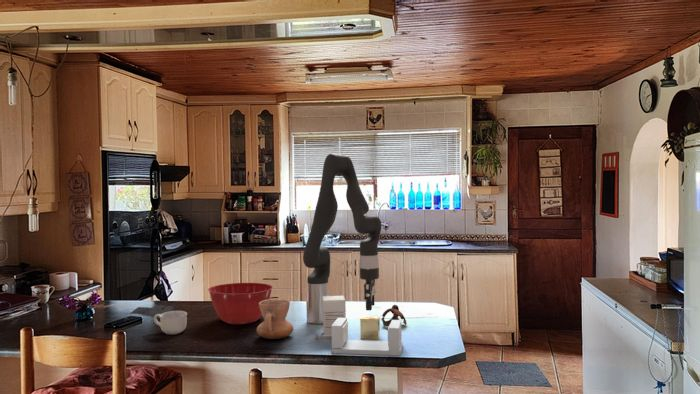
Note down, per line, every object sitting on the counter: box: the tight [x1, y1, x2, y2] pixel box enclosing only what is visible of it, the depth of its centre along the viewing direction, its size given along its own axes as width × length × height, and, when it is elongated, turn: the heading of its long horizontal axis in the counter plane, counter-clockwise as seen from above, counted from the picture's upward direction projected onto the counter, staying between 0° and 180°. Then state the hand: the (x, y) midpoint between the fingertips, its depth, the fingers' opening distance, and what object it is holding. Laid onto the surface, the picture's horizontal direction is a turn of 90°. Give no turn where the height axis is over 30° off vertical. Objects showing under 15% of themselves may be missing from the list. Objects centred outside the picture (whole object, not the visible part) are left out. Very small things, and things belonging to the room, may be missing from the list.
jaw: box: [315, 317, 349, 349], centre depth 197 cm, size 10×12×8 cm
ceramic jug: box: [256, 298, 294, 340], centre depth 213 cm, size 18×14×14 cm
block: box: [359, 315, 381, 341], centre depth 210 cm, size 4×7×8 cm, turn 80°
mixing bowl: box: [207, 282, 273, 325], centre depth 240 cm, size 28×28×16 cm
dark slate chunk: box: [129, 304, 177, 318], centre depth 256 cm, size 15×22×5 cm
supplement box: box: [322, 295, 347, 336], centre depth 216 cm, size 9×9×15 cm
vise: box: [331, 319, 404, 356], centre depth 195 cm, size 24×12×10 cm, turn 80°
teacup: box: [153, 310, 188, 335], centre depth 223 cm, size 14×11×8 cm
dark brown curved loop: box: [381, 304, 407, 327], centre depth 229 cm, size 12×9×8 cm
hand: (370, 307), depth 210 cm, fingers open, 8 cm apart
